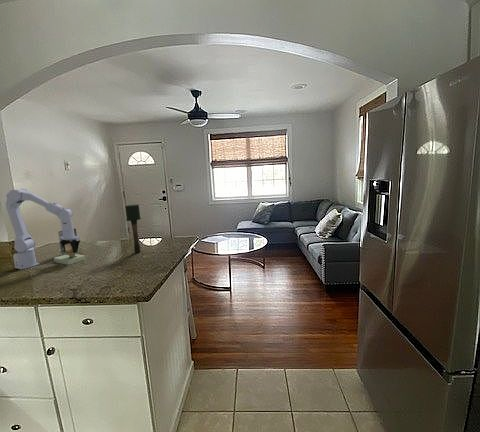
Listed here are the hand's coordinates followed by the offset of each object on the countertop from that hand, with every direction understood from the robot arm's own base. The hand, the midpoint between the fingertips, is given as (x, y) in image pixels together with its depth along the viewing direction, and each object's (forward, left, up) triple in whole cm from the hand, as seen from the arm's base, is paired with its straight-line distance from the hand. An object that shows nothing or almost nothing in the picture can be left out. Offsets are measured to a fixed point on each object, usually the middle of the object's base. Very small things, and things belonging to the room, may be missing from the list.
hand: (71, 252), depth 164 cm
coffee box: (+9, +18, -6) cm, 21 cm away
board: (0, +3, -6) cm, 6 cm away
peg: (0, 0, -3) cm, 3 cm away
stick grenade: (+27, -24, -6) cm, 37 cm away
